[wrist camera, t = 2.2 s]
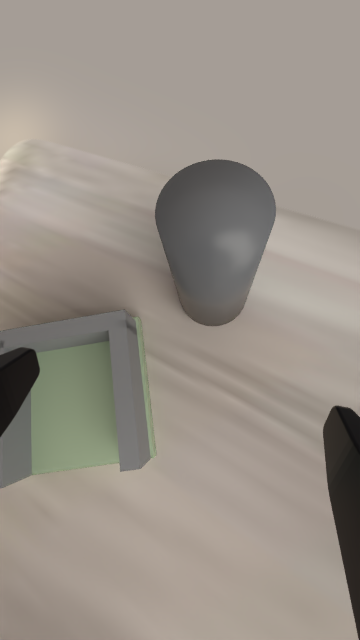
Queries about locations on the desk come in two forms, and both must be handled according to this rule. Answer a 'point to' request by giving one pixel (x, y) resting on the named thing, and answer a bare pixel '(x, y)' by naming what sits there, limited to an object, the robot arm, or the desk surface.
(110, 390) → the tray
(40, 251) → the desk surface
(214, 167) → the gray capsule
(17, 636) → the desk surface
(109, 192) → the desk surface
